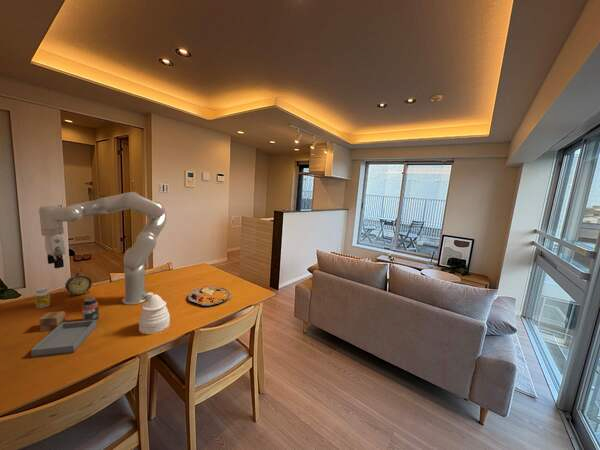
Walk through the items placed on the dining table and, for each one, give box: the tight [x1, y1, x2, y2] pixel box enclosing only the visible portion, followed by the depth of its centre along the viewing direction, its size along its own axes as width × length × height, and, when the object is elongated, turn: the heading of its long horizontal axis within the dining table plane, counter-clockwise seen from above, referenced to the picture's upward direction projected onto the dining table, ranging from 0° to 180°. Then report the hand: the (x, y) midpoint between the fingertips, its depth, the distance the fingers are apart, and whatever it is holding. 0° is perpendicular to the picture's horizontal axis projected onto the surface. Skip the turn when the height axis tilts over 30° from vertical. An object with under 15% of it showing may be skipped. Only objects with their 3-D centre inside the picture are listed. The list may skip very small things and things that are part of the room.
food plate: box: [187, 285, 232, 306], centre depth 150 cm, size 25×23×4 cm
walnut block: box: [38, 310, 66, 332], centre depth 110 cm, size 6×6×6 cm
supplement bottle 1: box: [34, 286, 51, 309], centre depth 126 cm, size 5×5×10 cm
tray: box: [30, 320, 98, 358], centre depth 102 cm, size 13×19×3 cm
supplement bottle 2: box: [81, 297, 100, 321], centre depth 117 cm, size 6×6×11 cm
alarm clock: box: [64, 267, 93, 298], centre depth 140 cm, size 11×5×16 cm, turn 144°
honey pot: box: [138, 292, 171, 334], centre depth 115 cm, size 13×13×18 cm
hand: (55, 265), depth 118 cm, fingers open, 9 cm apart
